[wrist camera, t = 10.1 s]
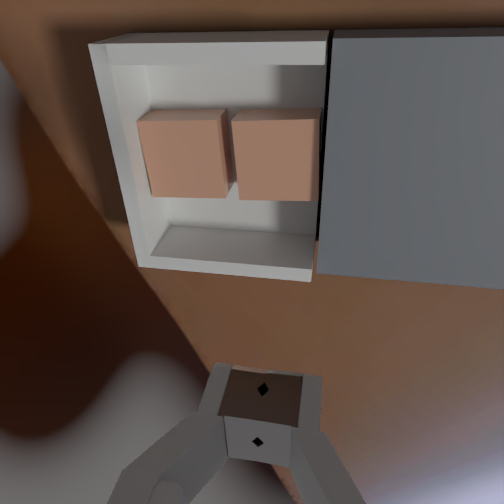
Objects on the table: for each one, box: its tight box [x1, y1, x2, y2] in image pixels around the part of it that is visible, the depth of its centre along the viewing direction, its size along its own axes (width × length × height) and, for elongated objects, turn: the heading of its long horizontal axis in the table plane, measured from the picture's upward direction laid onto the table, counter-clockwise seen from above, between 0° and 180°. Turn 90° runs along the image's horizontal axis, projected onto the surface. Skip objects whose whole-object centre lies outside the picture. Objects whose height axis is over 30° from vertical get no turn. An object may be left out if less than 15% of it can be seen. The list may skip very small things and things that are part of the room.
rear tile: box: [136, 109, 234, 198], centre depth 26 cm, size 5×5×2 cm
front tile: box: [231, 107, 322, 201], centre depth 25 cm, size 5×5×2 cm
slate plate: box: [317, 27, 504, 289], centre depth 24 cm, size 14×14×4 cm
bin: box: [88, 30, 329, 282], centre depth 26 cm, size 14×12×5 cm
